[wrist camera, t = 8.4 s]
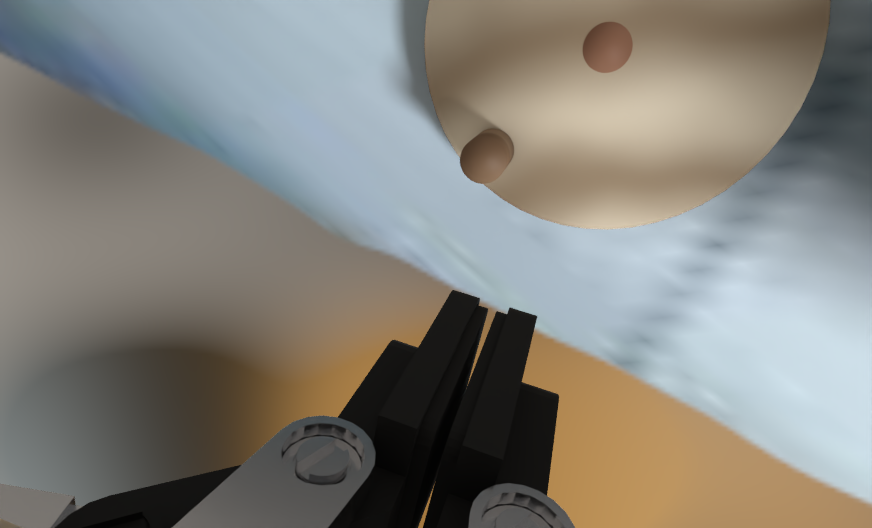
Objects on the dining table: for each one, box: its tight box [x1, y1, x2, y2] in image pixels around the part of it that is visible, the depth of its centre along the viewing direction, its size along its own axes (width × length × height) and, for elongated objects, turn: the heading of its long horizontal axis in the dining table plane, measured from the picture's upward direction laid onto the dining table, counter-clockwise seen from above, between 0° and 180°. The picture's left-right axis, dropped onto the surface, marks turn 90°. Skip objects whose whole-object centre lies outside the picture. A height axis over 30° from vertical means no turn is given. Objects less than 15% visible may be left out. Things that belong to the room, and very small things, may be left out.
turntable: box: [424, 0, 831, 229], centre depth 23 cm, size 16×16×4 cm
